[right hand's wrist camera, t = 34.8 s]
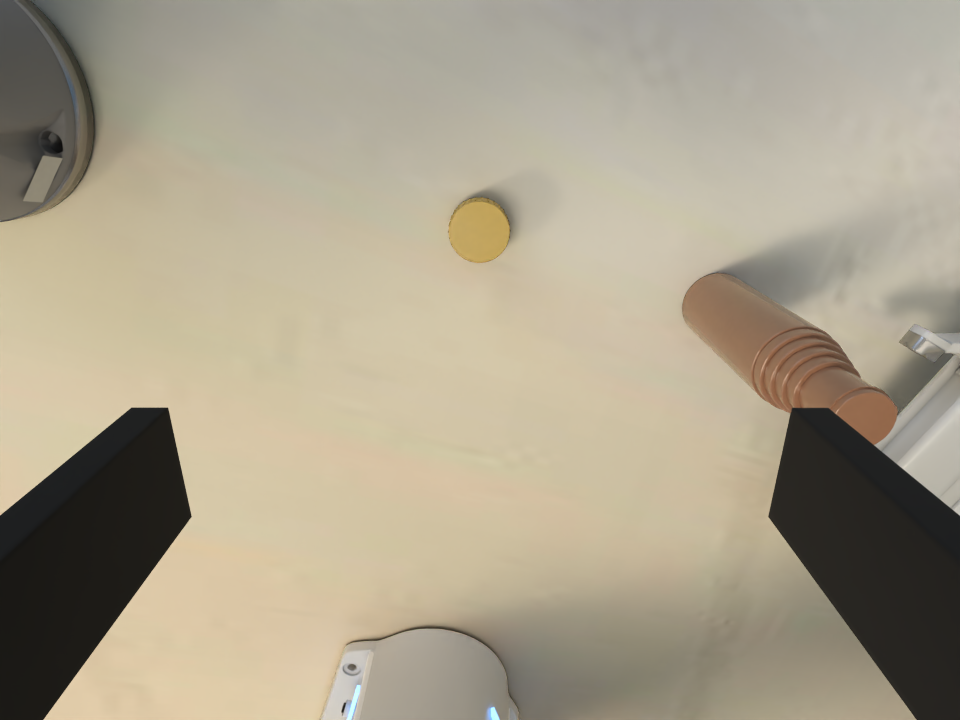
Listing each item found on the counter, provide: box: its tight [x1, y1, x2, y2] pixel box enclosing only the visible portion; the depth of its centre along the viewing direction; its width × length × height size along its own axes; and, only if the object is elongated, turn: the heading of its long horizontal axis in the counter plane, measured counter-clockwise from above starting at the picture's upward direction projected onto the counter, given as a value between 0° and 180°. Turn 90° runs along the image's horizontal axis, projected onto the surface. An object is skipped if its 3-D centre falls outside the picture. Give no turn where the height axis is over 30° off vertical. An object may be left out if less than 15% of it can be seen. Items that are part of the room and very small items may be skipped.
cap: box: [448, 197, 510, 263], centre depth 41 cm, size 4×4×2 cm
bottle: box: [682, 273, 898, 445], centre depth 35 cm, size 5×5×18 cm
